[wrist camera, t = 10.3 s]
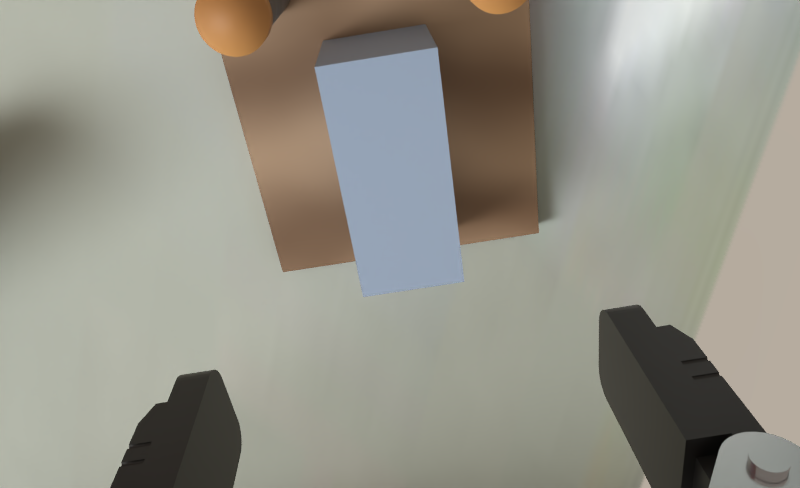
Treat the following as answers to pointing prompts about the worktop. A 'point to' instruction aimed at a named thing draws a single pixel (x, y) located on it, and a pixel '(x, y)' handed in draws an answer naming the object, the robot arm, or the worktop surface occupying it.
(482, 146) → the board
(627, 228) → the worktop surface
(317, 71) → the rectangular block
